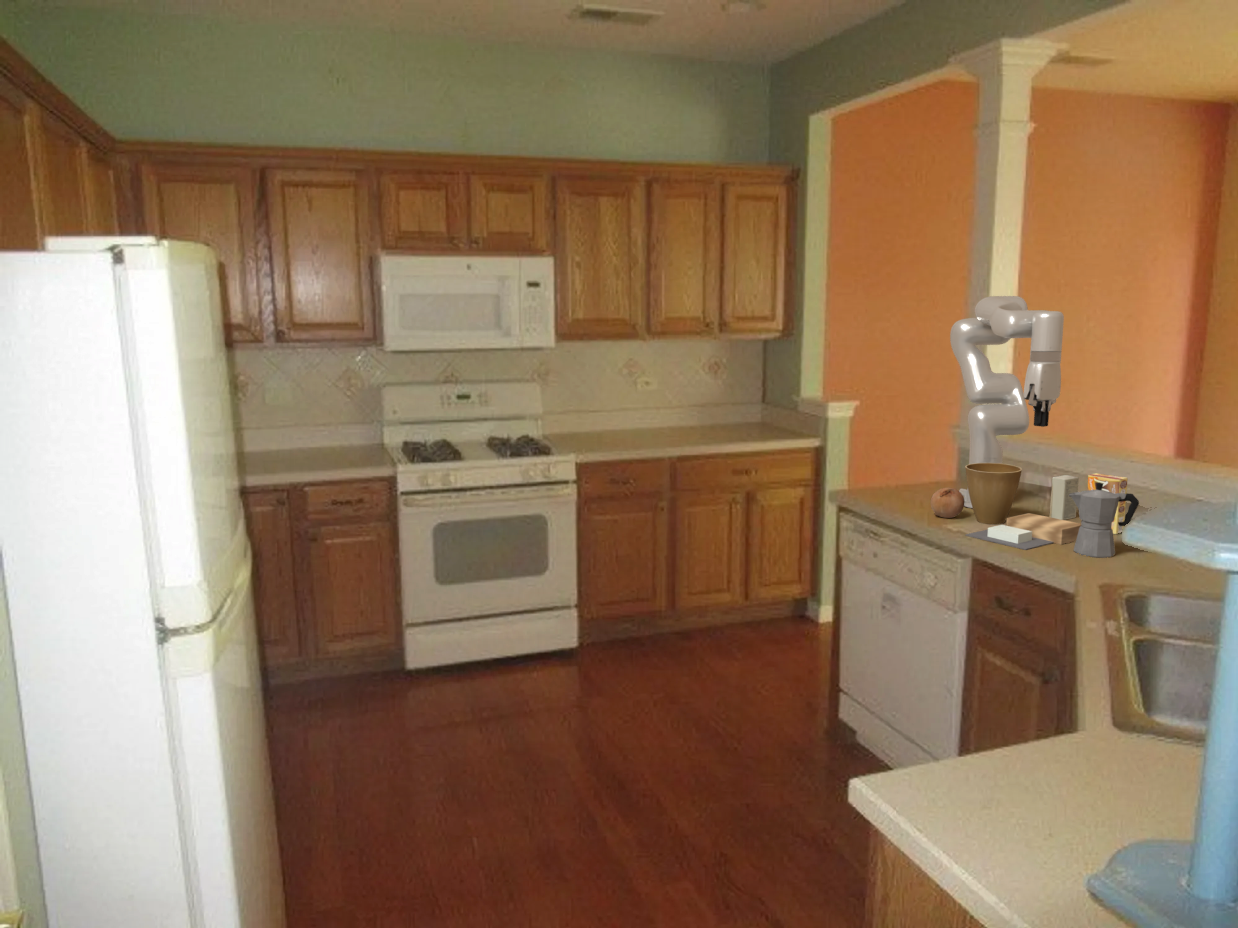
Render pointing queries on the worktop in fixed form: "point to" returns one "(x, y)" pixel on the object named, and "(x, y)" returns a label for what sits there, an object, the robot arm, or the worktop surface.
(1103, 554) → the coffeepot
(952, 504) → the onion
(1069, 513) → the skincare box
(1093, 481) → the candy box
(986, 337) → the robot arm
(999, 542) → the mat
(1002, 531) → the white rectangular block
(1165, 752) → the worktop surface
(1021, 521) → the wooden block
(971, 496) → the plant pot
